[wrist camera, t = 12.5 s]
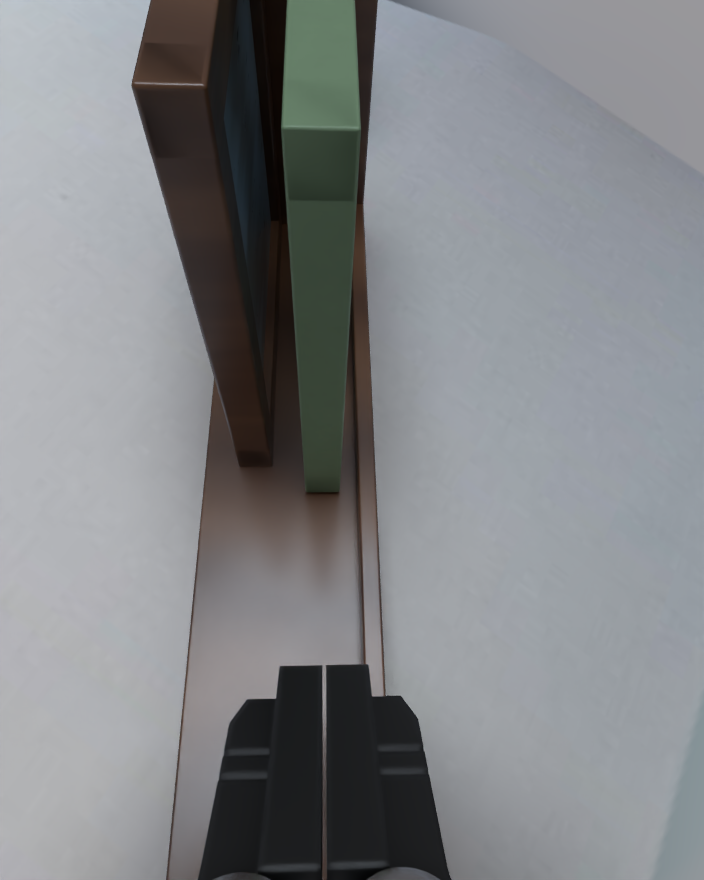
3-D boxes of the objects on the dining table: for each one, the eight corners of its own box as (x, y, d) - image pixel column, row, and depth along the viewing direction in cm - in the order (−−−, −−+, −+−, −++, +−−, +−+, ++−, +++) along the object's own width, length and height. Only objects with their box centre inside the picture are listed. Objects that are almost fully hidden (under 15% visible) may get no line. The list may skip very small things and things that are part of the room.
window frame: (387, 930, 17) (759, 1912, 3) (171, 939, 17) (-830, 2095, 2) (359, 231, 30) (394, -291, 15) (234, 229, 30) (145, -304, 15)
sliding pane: (339, 492, 22) (361, 129, 9) (305, 492, 22) (280, 126, 9) (335, 241, 27) (345, -197, 15) (308, 240, 27) (295, -199, 15)
